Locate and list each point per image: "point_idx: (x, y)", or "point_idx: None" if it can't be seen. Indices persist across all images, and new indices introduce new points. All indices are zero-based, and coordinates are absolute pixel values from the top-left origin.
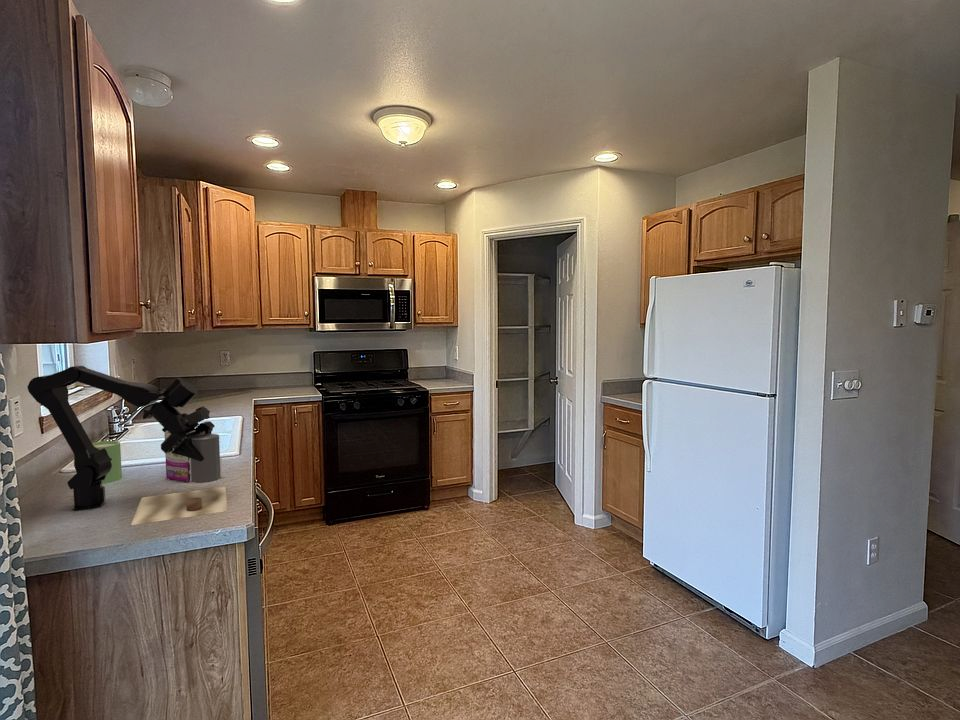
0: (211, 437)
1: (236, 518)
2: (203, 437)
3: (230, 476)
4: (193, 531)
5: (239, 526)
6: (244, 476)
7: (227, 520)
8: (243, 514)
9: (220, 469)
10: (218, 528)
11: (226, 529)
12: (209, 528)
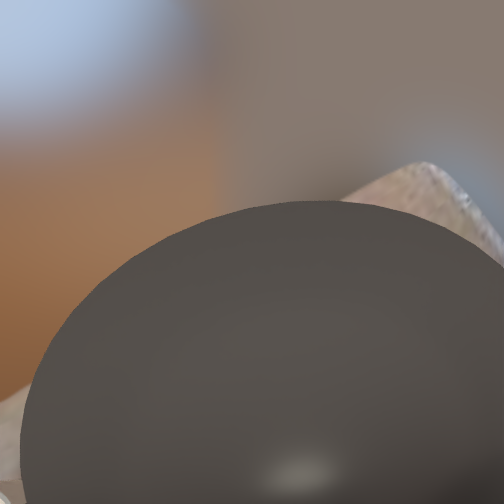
0: (407, 275)
1: (399, 198)
2: (439, 473)
3: (11, 453)
4: (494, 252)
5: (433, 165)
6: (5, 407)
7: (418, 213)
8: (368, 196)
9: (15, 480)
10: (461, 205)
11: (457, 184)
12: (470, 226)
